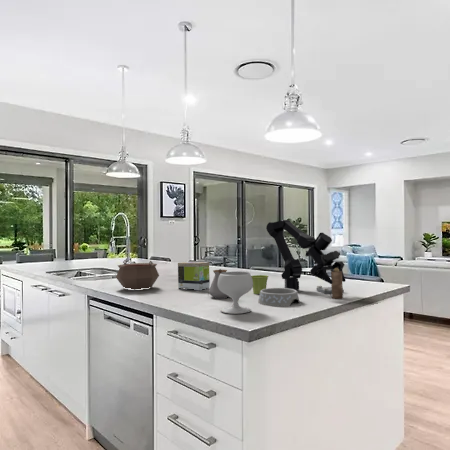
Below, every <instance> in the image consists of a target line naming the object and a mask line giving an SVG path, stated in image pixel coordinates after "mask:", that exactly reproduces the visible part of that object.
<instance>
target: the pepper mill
mask: <svg viewBox="0 0 450 450" xmlns="http://www.w3.org/2000/svg"><path fill="white" fill-rule="evenodd" d="M342 271H343V270H342ZM342 271H339V269H338V268H334V271H331V270H330V279H331V280H332V282H333V283H332V284H330V286H331V285H332V293H331V299H334V300H343V298H344V293H343V290H344V287H343V281H342Z"/></svg>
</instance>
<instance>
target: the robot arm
mask: <svg viewBox="0 0 450 450" xmlns="http://www.w3.org/2000/svg"><path fill="white" fill-rule="evenodd" d="M266 231H267V234H269V236H270V237H271V238H272V239H274V241H275V244H276V246H277V248H278V250H279V252H280V255H281V257H282V259H283V261H284V264H283V265H284V266H283V268H284V271H283V272H282V273H281V278H282V280H284V288H289V289H294V290H296V291H297V292H299V291H300V282H299V279H300V278H301V276H302V273H303V265H302V264H301V261H300V260H299V259H295V257H293V254H292V251H291V250H290V248H289V246H288V244H287V241H286V239H285V237H284V231H286V232H287V233H288V234H289V235H291V236H292V238H294V239H295V240H296V243H297V245H298V246H299V247H300V248H301V249H302V250H303V249H305V250H306V249H308V250H306V251H305V257H310V258H311V259H312V260H313V264H314V265H313V266H312V267H311V268H310V270H309V271H310V274H311V276H312V277H315V278H319V279H320V280H322V281H324V282H327V283H328V284H330V285H331V284H332V283H333V282H332V280H331V276H329V274H328V273H327V271H330V272H331V271H334V268H338V269H339V271H342V283H345V282H346V278H345V274H344V272H343V268H344V267H345V263H344V262H343V261H342V260H339V261H335V260H337V259H340V256H341V254H340V253H339V251H337V250H333V251H329V252H328V253H324V252H323V251H326V250H327V248H328V247H329V245H330V244H331V243H332V242H333V240H332V239H333V238H332V237H331V236H329V235H327V234H325V233H324V232H320V233H319V234H318V235H317V237H316V238H315V237H313V236H312V235H310V234H307V233H305V232H303V231H302V230H300V229H299V228H298V227H297V226H295V225H294V224H293V223H292V222H291V220H289V219H281V220H278V221H272V222H271V221H270V222H268V223H267V225H266ZM334 261H335V262H334Z"/></svg>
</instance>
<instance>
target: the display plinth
mask: <svg viewBox="0 0 450 450" xmlns="http://www.w3.org/2000/svg"><path fill="white" fill-rule="evenodd" d="M316 291H317V292H319V293H321V294H324V295H327V294H328V295H329V294H331V295H332V285H331V284H330V286H326V287H325V286H324V287H323V286H322V285H317V286H316ZM343 294H345V289H343Z"/></svg>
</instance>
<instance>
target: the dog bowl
mask: <svg viewBox="0 0 450 450" xmlns="http://www.w3.org/2000/svg"><path fill="white" fill-rule="evenodd" d="M295 301H298V303H299V304H300V303H301V301H300V298H299V291H296V290H294V289H289V288H285V287H269V288H267V287H266V289H263V290H261V291H260V294H259V297H258V301H257V302H258V304H260V305H263V306H267V307H268V306H270V307H289V306H291V304H292V303H294V302H295Z"/></svg>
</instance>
